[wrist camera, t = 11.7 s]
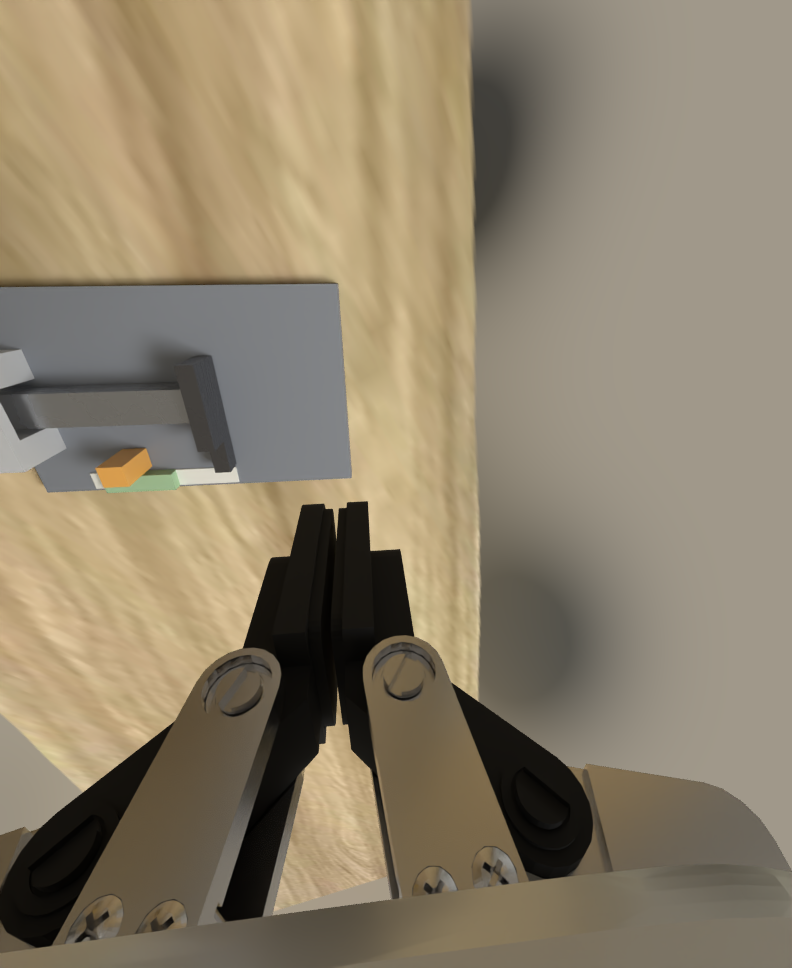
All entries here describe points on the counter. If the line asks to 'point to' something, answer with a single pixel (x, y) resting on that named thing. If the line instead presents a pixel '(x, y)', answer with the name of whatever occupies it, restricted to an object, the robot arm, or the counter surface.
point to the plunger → (133, 407)
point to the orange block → (124, 468)
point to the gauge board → (151, 358)
